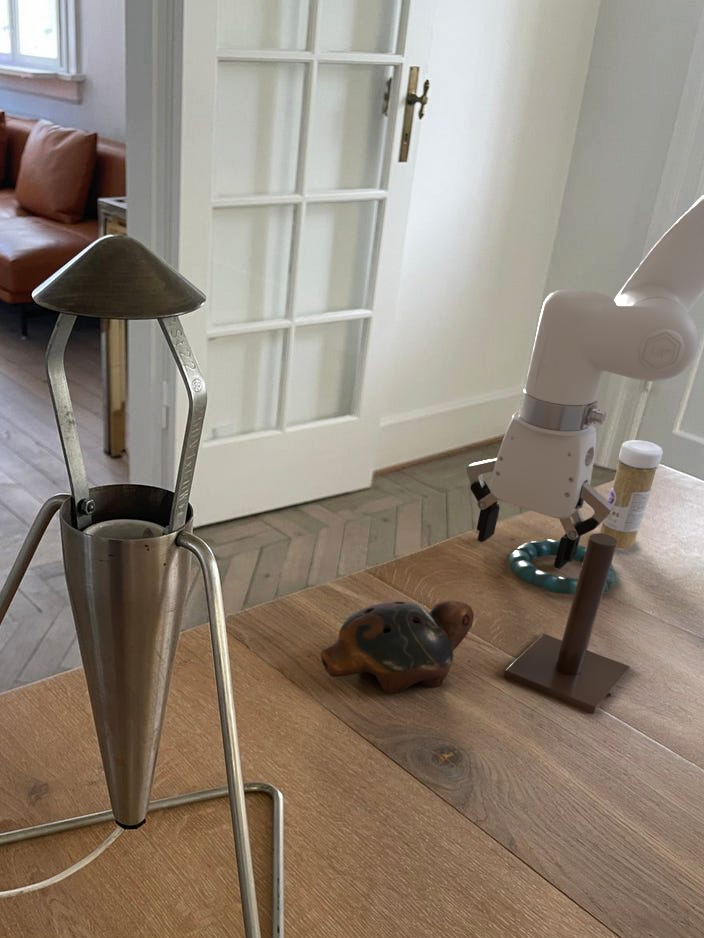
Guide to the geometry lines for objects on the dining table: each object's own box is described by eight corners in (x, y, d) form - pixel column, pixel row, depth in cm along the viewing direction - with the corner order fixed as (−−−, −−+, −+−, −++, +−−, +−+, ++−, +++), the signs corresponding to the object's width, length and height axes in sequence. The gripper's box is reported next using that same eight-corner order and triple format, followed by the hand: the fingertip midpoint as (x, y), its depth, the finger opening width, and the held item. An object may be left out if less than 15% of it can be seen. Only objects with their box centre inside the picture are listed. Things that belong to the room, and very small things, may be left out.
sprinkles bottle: (587, 542, 121) (614, 439, 114) (619, 539, 122) (648, 437, 115) (608, 558, 117) (637, 454, 110) (641, 555, 118) (672, 451, 111)
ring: (627, 576, 114) (632, 558, 112) (589, 615, 106) (594, 596, 105) (533, 545, 120) (537, 527, 118) (490, 579, 112) (494, 561, 111)
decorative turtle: (488, 688, 93) (501, 620, 88) (348, 728, 89) (354, 659, 84) (434, 632, 101) (444, 568, 96) (302, 667, 96) (306, 601, 91)
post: (626, 678, 95) (670, 538, 87) (591, 720, 90) (635, 573, 81) (540, 645, 100) (574, 508, 92) (502, 682, 94) (535, 540, 86)
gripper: (647, 423, 103) (605, 564, 112) (498, 384, 112) (471, 518, 121) (621, 441, 98) (580, 587, 107) (468, 399, 107) (442, 538, 116)
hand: (522, 551), depth 114 cm, fingers open, 9 cm apart
